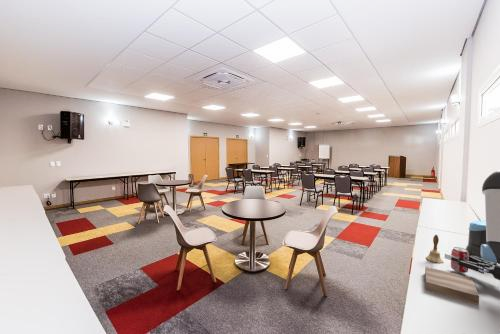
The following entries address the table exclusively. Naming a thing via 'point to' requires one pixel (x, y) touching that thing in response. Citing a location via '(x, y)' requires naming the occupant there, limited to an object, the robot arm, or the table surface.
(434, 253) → the hand bell
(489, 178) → the robot arm
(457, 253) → the soda can
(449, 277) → the podium
